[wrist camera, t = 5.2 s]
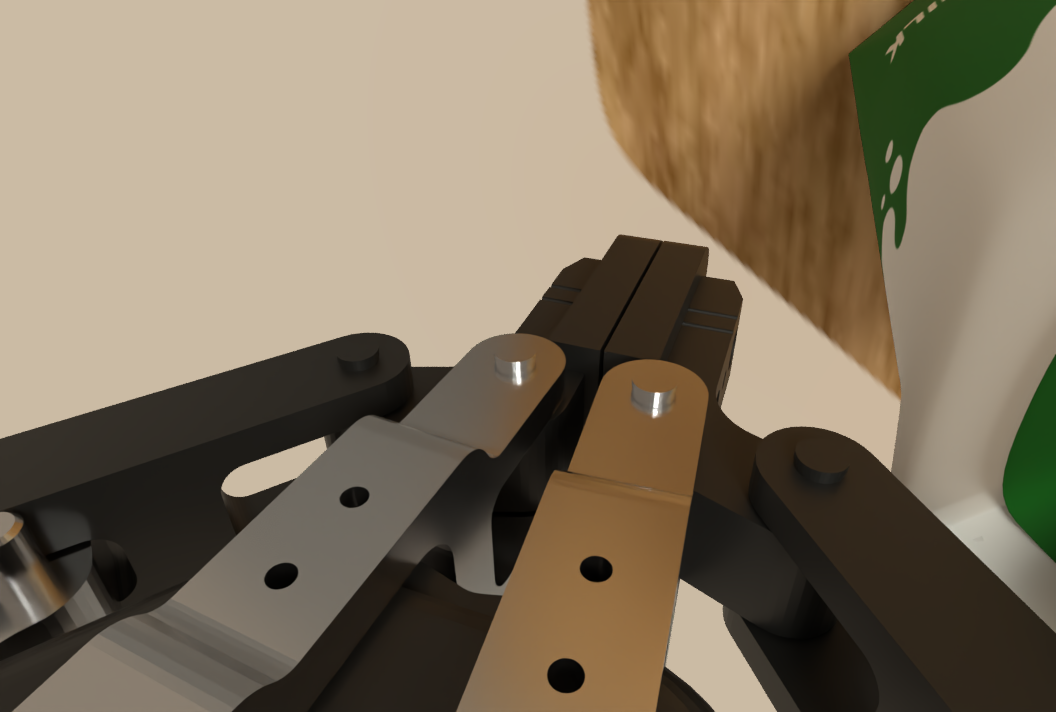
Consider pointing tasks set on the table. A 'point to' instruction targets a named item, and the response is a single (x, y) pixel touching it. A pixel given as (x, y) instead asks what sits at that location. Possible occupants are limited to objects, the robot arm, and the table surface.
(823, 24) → the table surface
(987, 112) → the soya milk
